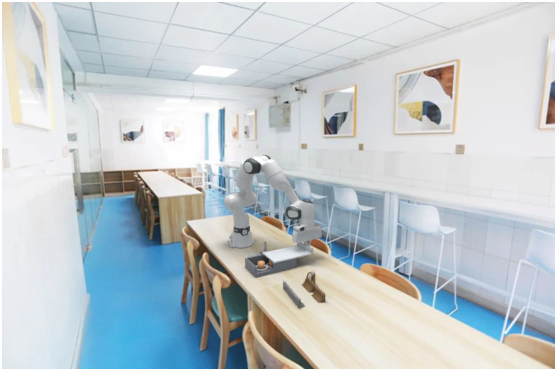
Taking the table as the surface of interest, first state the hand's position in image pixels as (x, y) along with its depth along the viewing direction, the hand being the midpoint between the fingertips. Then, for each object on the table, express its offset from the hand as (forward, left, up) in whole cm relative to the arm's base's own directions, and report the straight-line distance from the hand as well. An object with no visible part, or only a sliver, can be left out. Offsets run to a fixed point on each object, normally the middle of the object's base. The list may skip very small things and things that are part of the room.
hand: (307, 246), depth 179 cm
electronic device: (-19, -25, -9) cm, 33 cm away
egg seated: (0, -25, -8) cm, 26 cm away
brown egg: (0, -32, -8) cm, 33 cm away
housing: (0, -26, -8) cm, 27 cm away
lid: (0, -15, -2) cm, 15 cm away
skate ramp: (+35, -19, -9) cm, 41 cm away
